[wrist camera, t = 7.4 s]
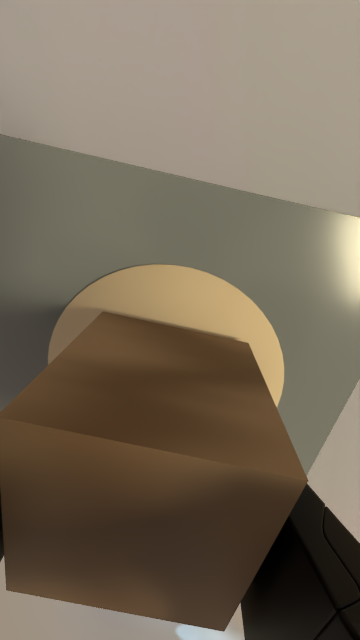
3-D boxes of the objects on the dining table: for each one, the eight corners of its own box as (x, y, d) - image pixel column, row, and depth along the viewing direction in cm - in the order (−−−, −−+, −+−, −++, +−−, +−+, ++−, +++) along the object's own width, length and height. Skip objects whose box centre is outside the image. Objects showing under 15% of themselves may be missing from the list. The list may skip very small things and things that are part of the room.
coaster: (407, 234, 9) (440, 236, 8) (270, 504, 14) (277, 531, 13) (-2, 139, 9) (-34, 125, 7) (9, 451, 14) (-9, 474, 12)
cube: (248, 342, 9) (308, 480, 4) (211, 450, 11) (224, 631, 6) (102, 311, 9) (-5, 416, 4) (90, 425, 10) (6, 590, 6)
